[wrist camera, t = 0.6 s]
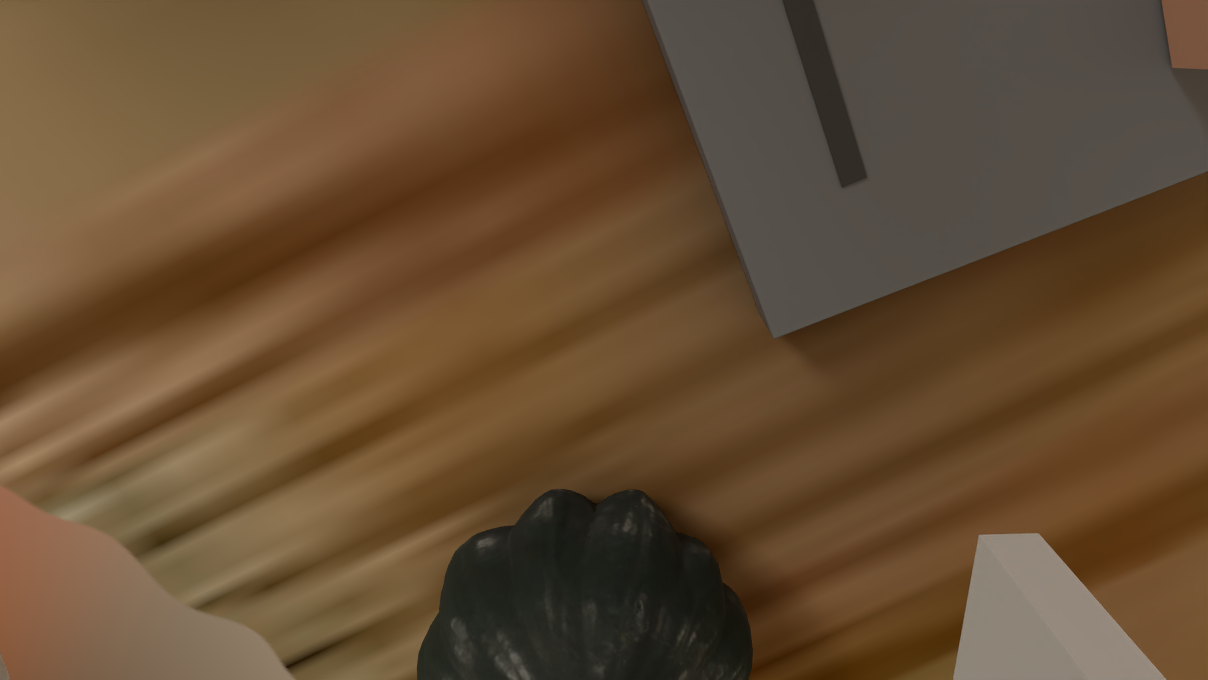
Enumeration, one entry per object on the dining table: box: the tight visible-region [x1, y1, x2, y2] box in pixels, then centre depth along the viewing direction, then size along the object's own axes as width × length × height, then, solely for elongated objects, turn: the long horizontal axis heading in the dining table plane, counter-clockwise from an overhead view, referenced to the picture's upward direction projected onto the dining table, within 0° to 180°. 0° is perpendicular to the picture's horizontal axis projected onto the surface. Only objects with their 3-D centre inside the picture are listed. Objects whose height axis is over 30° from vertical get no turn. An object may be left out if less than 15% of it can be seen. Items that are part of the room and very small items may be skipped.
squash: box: [417, 489, 753, 680], centre depth 35 cm, size 14×15×15 cm
